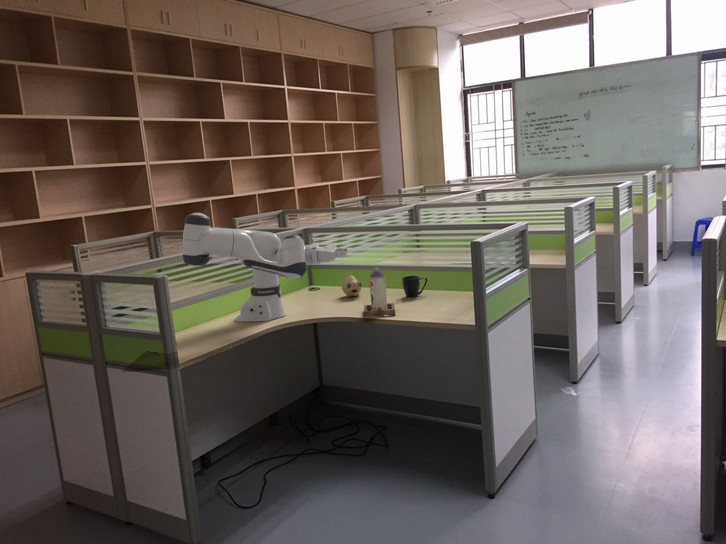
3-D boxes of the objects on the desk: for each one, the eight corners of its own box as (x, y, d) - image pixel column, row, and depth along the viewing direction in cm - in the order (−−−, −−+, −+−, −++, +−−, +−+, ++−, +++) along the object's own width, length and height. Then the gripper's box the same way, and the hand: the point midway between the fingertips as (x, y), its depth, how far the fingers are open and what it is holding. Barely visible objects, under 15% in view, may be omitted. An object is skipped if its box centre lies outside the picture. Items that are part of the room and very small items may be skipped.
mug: (429, 296, 294) (428, 277, 293) (404, 299, 294) (403, 279, 292) (426, 293, 302) (425, 274, 301) (402, 295, 302) (401, 276, 300)
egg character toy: (346, 300, 302) (344, 278, 300) (340, 295, 313) (338, 275, 311) (365, 297, 304) (363, 276, 303) (359, 293, 316) (357, 272, 314)
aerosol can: (372, 311, 274) (368, 267, 270) (387, 310, 273) (384, 266, 270) (372, 315, 267) (368, 269, 264) (387, 314, 267) (384, 268, 263)
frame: (364, 317, 264) (363, 311, 263) (364, 310, 277) (364, 305, 276) (395, 315, 263) (395, 309, 263) (394, 308, 276) (393, 302, 276)
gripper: (317, 258, 277) (348, 255, 276) (313, 264, 257) (346, 262, 256) (316, 244, 276) (347, 241, 275) (312, 250, 255) (345, 247, 255)
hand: (346, 251), depth 266 cm, fingers open, 8 cm apart
